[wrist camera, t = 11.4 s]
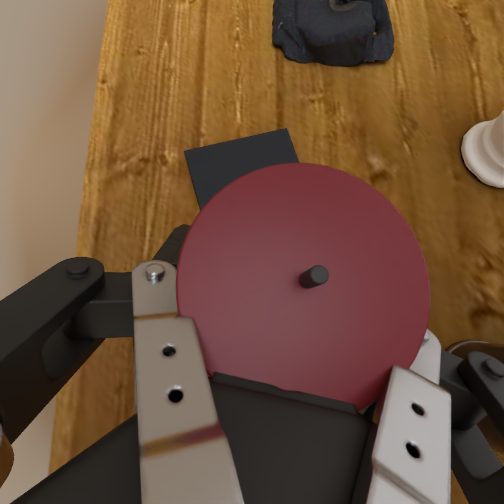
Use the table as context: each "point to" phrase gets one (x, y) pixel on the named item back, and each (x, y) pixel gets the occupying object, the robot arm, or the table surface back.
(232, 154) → the mat
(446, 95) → the table surface
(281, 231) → the candle
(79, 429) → the table surface
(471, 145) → the cherub figurine
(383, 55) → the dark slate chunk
